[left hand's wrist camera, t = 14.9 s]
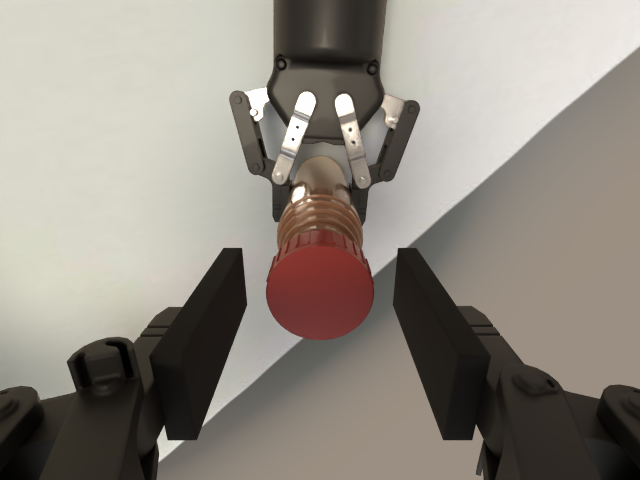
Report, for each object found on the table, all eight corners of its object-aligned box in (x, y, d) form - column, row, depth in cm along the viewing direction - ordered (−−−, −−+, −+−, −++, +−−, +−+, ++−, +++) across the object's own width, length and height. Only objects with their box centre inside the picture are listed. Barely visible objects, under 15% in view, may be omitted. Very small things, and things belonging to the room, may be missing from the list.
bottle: (298, 152, 33) (263, 225, 12) (347, 159, 33) (392, 240, 13) (293, 200, 34) (255, 333, 14) (340, 206, 35) (368, 345, 14)
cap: (264, 307, 15) (257, 331, 14) (279, 219, 14) (273, 234, 12) (355, 323, 15) (360, 349, 14) (380, 239, 14) (388, 256, 12)
